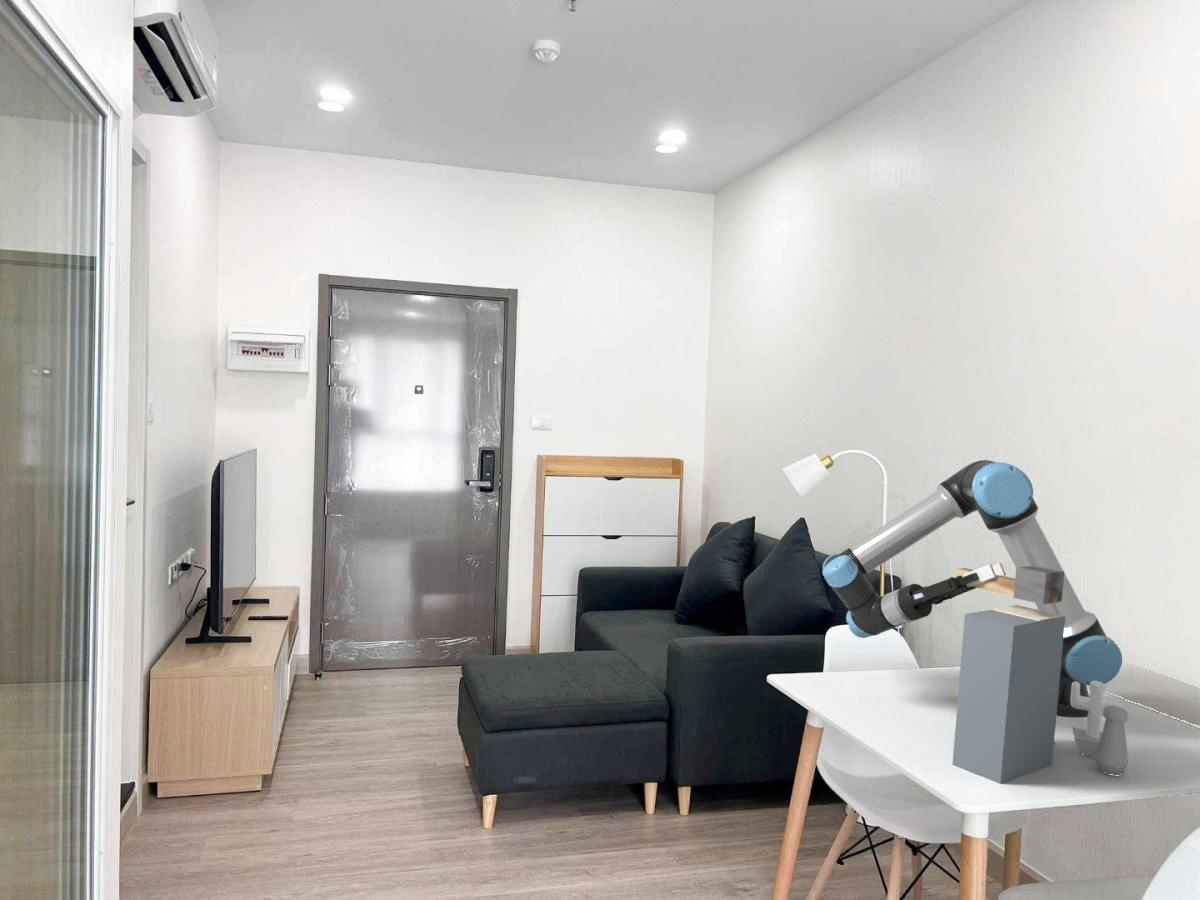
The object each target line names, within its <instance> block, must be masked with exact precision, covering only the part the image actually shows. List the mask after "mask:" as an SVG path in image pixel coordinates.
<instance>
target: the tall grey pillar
mask: <svg viewBox="0 0 1200 900" xmlns="http://www.w3.org/2000/svg"><path fill="white" fill-rule="evenodd" d="M1064 625H1065V616H1063V615H1059V614H1054V613H1050V612H1045V611H1041V610H1038V608H1037V609H1036V608H1031V607H1028V606H1027V607H1026V606H1023V605H1019V604H1013V605H1010V606H1009V605H1008V606H1002V607H996V608H992V609H987V610H982V611H976V612H969V613H964V621H963V631H962V632H963V633H962V643H961V644H962V646H961V657H960V659H961V660H960V670H959V681H958V691H957V692H958V694H957V703H956V704H957V705H956V717H955V718H956V719H955V727H954V729H955V730H954V743H953V751H952V752H953V753H952V754H953V755H952V766H955V767H958V768H961V769H963V770H965V771H968V772H970V773H973V774H974V775H978V776H980V777H983V778H986V779H988V780H990V781H992V782H996V783H998V784H1000V785H1001V784H1003V783H1005V782H1008V781H1011V780H1014V779H1016V778H1018V777H1021V776H1024V775H1027V774H1030V773H1033V772H1035V771H1038V770H1041V769H1044V768H1045V767H1049V766H1051V765H1053V760H1054V759H1053V758H1054V757H1053V755H1054V746H1055V744H1054V743H1055V738H1056V737H1055V735H1056V725H1057V724H1056V723H1057V704H1058V693H1059V681H1060V670H1061V659H1062V648H1063V637H1064Z"/></svg>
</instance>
